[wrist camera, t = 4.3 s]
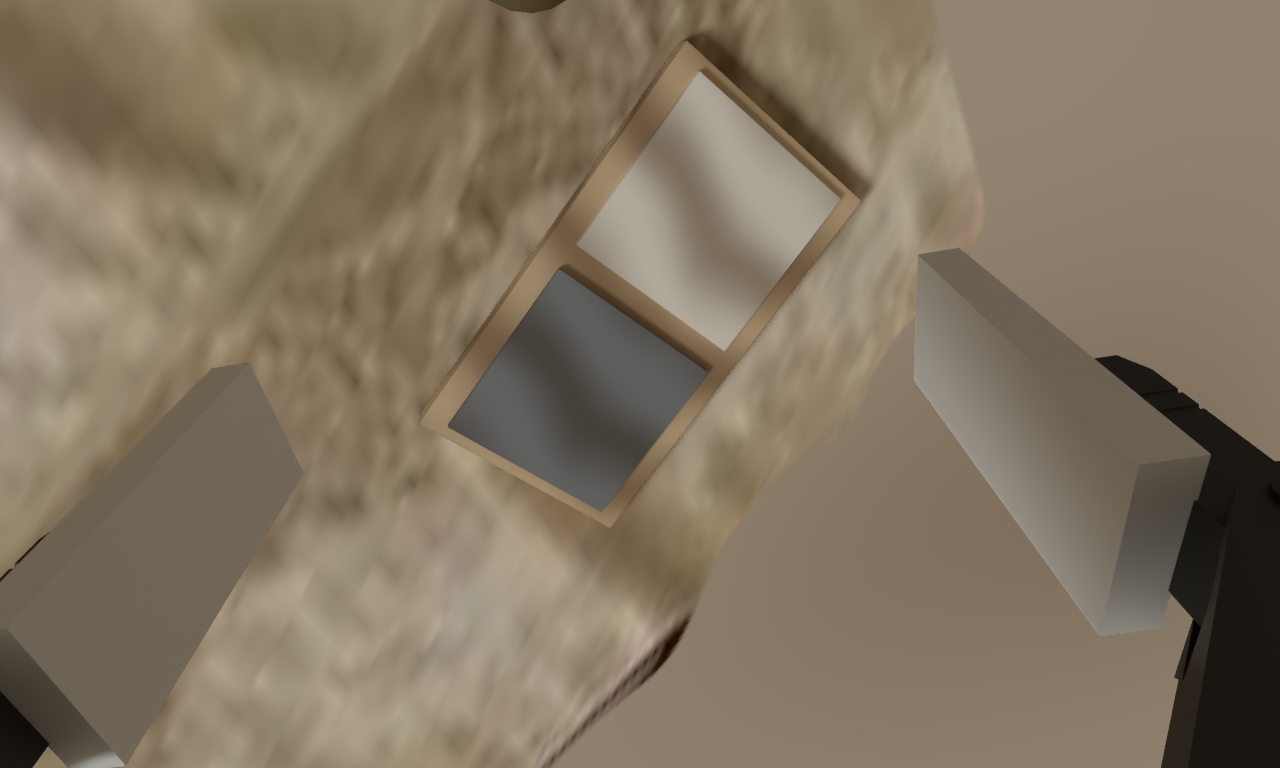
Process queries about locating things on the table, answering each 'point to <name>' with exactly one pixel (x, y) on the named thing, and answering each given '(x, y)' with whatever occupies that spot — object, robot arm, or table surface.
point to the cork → (528, 5)
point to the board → (642, 292)
